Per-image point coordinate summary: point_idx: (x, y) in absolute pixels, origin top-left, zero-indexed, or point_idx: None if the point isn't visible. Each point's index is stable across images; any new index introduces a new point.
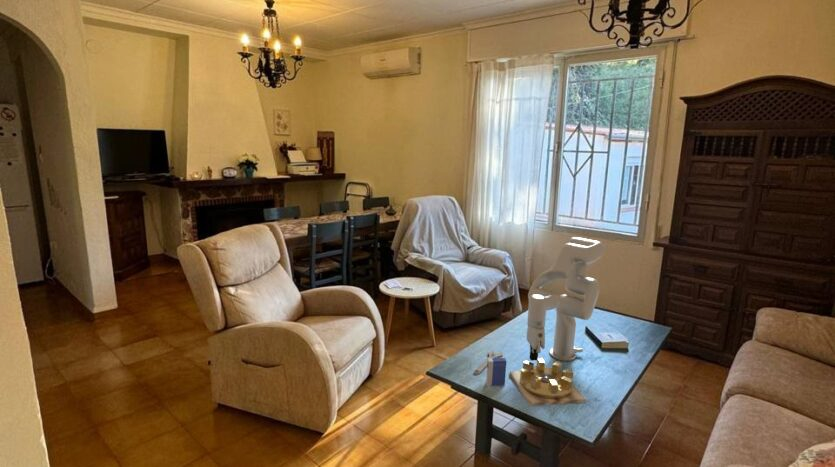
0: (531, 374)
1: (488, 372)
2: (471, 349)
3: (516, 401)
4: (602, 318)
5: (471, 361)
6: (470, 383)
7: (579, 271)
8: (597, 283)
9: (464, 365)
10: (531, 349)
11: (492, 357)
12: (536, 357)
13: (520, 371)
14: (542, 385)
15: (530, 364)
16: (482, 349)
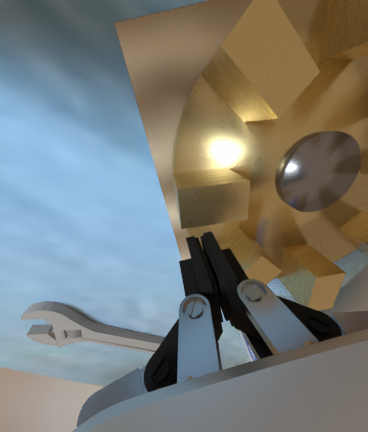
0: (261, 237)
1: None
2: (44, 373)
3: (337, 265)
4: None
5: (127, 364)
6: (241, 353)
7: None
8: None
9: None
10: (217, 341)
11: (90, 333)
12: (234, 256)
13: (185, 256)
14: (358, 201)
15: (269, 273)
16: (25, 353)
